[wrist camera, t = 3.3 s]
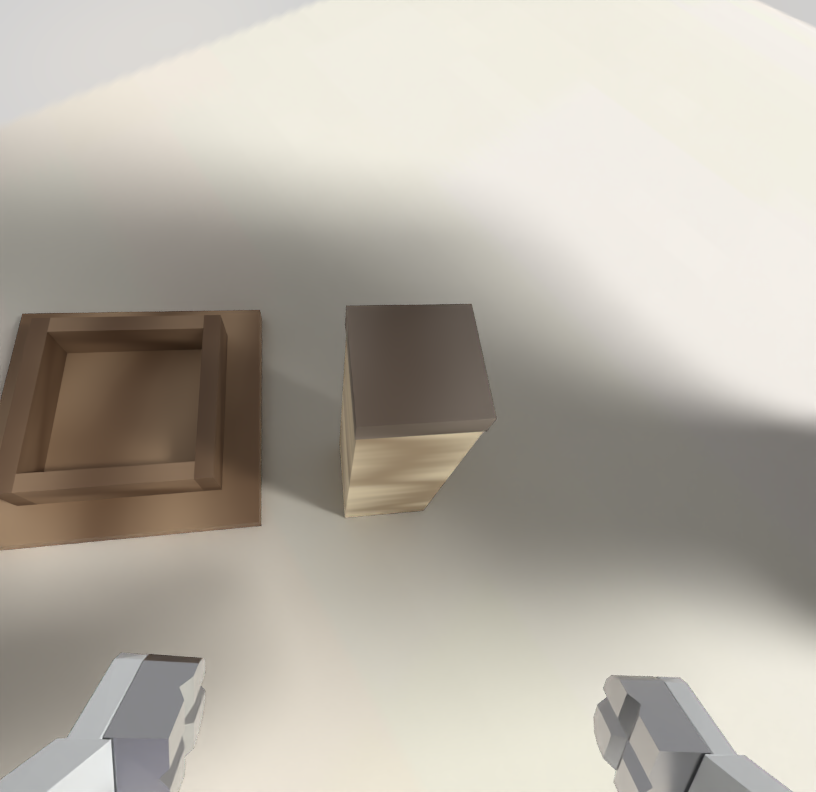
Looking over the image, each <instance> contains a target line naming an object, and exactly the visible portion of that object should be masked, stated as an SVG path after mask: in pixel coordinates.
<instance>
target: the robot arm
mask: <svg viewBox="0 0 816 792" xmlns="http://www.w3.org/2000/svg"><path fill="white" fill-rule="evenodd" d="M204 675H205V659H204V658H197V657H182V656H168V655H154V654H134V653H120V654H119V655H118V656H117V657H116V658H115V659H114V660H113V661H112V663H111V664H110V666H109V668H108V669H107V671H106V673H105V674H104V676H103V678H102V679H101V681H100V683H99V684H98V686H97V688H96V689H95V691H94V693H93V694H92V696H91V698H90V699H89V701H88V703H87V704H86V706H85V708H84V709H83V711H82V713H81V714H80V716H79V718H78V719H77V721H76V723H75V724H74V726H73V728H72V729H71V731H70V733H69V734H68V736H67V738H56V739H55V740H54V741H52V742H51V743H50V744H48V745H47V746H46V747H44V748H43V749H42V750H40V751H39V752H37V753H36V754H35V755H33V756H32V757H31V758H29V759H28V760H27V761H25V762H24V763H22V764H21V765H20V766H18V767H17V768H16V769H14V770H13V771H12V772H10V773H9V774H8V775H6V776H5V777H3V778H2V779H1V780H0V792H179V790H180V787H181V784H182V782H183V779H184V776H185V756H186V755H187V754H188V753H189V752H191V751H192V750H193V749H194V746H195V743H196V740H197V737H198V734H199V730H200V726H201V722H202V718H203V713H204V705H205V690H204V689H203V687H202V686H201V684H202V681H203V678H204ZM603 690H604V692H605V694H606V696H607V697H606V698H605V699H604V700H603V701H601V702H600V703H599V704H598V705H597V707H596V711H595V714H594V733H595V737H596V741H597V745H598V747H599V750H600V752H601V754H602V757H603V758H604V759H605V760H606V761H607V762H608V763H609V764H610V765H611V766H612V767H613V768H614V769H615V770H616V771H615V777H614V784H615V786H616V789H617V791H618V792H793V791H791V790H790V789H789V788H787V787H786V786H785V785H783V784H782V783H781V782H779V781H778V780H777V779H775V778H774V777H773V776H771V775H770V774H769V773H767V772H766V771H765V770H763V769H762V768H761V767H760V766H758V765H757V764H756V763H754V762H753V761H752V760H750V759H749V758H748V757H746V756H745V755H737V753H736V752H735V751H734V749H733V748H732V746H731V745H730V743H729V742H728V741H727V739H726V738H725V736H724V735H723V734H722V732H721V731H720V729H719V728H718V726H717V725H716V724H715V722H714V721H713V719H712V718H711V716H710V715H709V714H708V712H707V711H706V709H705V708H704V707H703V705H702V704H701V702H700V701H699V699H698V698H697V697H696V695H695V694H694V692H693V691H692V690H691V688H690V687H689V685H688V684H687V683H686V682H685V681H684V680H682V679H681V678H676V677H653V676H625V675H611V676H610V677H608V678H607V679H606V681H605V684H604V687H603Z"/></svg>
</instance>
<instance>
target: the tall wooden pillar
mask: <svg viewBox="0 0 816 792" xmlns="http://www.w3.org/2000/svg"><path fill="white" fill-rule="evenodd" d="M345 328H346V346H345V362H344V378H343V394H342V410H341V426H340V457H341V471H342V486H343V500H344V514H345V518H349V517H360V516H370V515H381V514H391V513H402V512H412V511H423V510H424V509H425V508H426V506H427V505H428V504H429V502H430V501H431V500H432V498H433V497H434V496H435V495H436V493H437V492H438V491H439V489H440V488H441V487H442V485H443V484H444V483H445V482H446V480H447V479H448V478H449V476H450V475H451V474H452V472H453V471H454V470H455V468H456V467H457V466H458V465H459V463H460V462H461V461H462V459H463V458H464V457H465V455H466V454H467V453H468V451H469V450H470V449H471V448H472V446H473V445H474V444H475V442H476V441H477V440H478V438H479V437H480V436H481V434H482V433H483V432H484V431H487V430H488V429H489V428H490V427H491V425H492V424H493V423H494V421H495V420H496V419H497V417H496V413H495V408H494V404H493V399H492V395H491V390H490V386H489V381H488V376H487V372H486V367H485V363H484V358H483V354H482V349H481V344H480V340H479V335H478V331H477V326H476V322H475V317H474V312H473V308H472V304H438V305H367V306H346V318H345Z"/></svg>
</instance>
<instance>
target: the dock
mask: <svg viewBox="0 0 816 792" xmlns="http://www.w3.org/2000/svg"><path fill="white" fill-rule="evenodd" d="M261 379H262V317H261V313H260V310H233V311H168V312H102V313H36V314H22V317H21V321H20V325H19V329H18V333H17V337H16V341H15V345H14V349H13V353H12V357H11V361H10V365H9V369H8V373H7V377H6V381H5V385H4V388H3V392H2V396H1V400H0V550H9V549H20V548H30V547H41V546H52V545H62V544H73V543H83V542H94V541H105V540H115V539H126V538H136V537H147V536H157V535H168V534H179V533H189V532H200V531H210V530H221V529H232V528H242V527H253V526H261Z"/></svg>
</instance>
